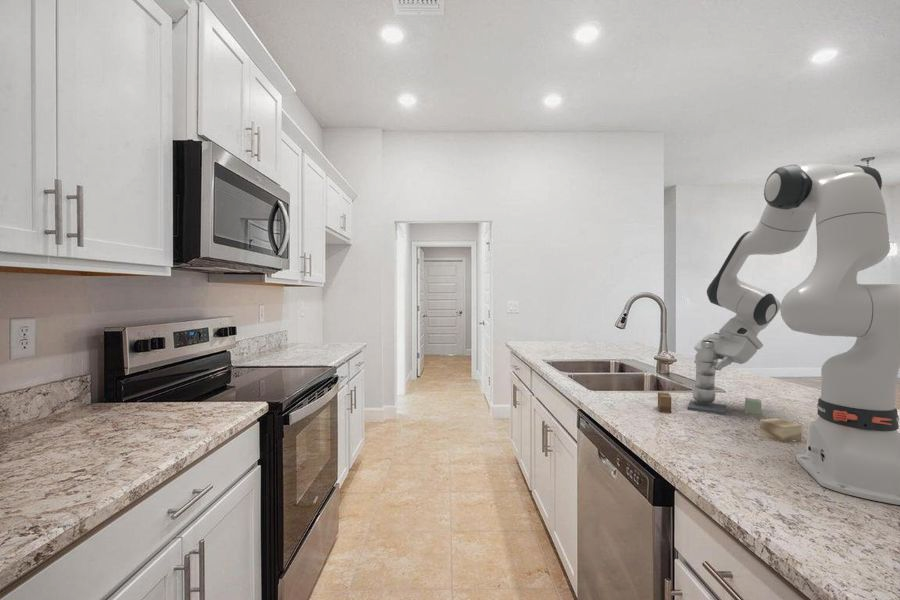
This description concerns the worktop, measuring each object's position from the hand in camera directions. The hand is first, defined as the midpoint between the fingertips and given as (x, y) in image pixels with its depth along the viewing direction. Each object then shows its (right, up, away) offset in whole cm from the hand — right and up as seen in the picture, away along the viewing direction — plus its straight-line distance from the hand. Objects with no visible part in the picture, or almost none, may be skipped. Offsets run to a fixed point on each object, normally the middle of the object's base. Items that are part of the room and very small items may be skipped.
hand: (706, 366), depth 133 cm
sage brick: (+12, -14, -4) cm, 19 cm away
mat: (+1, -14, 0) cm, 14 cm away
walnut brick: (-14, -14, -2) cm, 20 cm away
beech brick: (+3, -14, -26) cm, 30 cm away
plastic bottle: (0, -12, +2) cm, 12 cm away
